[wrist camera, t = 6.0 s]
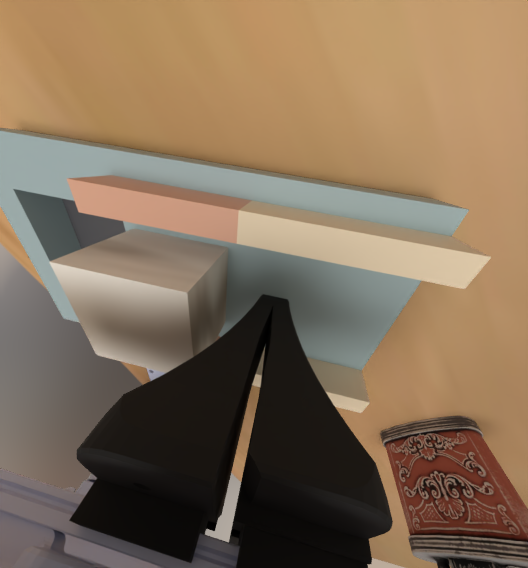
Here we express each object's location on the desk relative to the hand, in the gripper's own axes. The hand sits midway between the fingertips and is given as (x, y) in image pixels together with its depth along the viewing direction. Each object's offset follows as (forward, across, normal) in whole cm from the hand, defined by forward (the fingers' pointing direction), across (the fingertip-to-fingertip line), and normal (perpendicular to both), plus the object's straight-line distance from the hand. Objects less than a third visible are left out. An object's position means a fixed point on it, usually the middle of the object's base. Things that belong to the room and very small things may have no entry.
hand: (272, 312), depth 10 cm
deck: (+3, +5, 0) cm, 6 cm away
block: (+1, +5, 0) cm, 5 cm away
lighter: (+4, -16, +13) cm, 21 cm away
